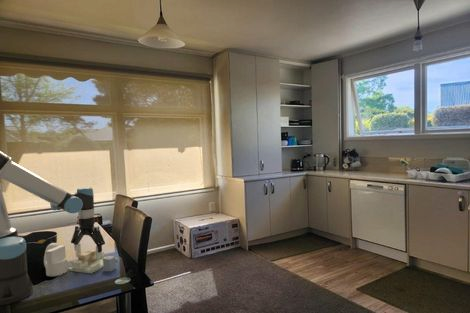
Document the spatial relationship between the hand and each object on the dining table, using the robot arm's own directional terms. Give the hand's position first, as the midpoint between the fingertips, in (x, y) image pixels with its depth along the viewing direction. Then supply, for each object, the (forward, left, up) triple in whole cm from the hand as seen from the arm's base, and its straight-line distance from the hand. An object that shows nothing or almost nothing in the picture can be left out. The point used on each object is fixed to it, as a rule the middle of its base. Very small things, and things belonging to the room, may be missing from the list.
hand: (88, 257), depth 156 cm
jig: (-1, -3, -3) cm, 5 cm away
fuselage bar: (0, 0, -2) cm, 2 cm away
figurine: (-7, +18, -4) cm, 19 cm away
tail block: (-4, -16, -4) cm, 17 cm away
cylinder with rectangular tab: (-13, +8, -4) cm, 15 cm away
